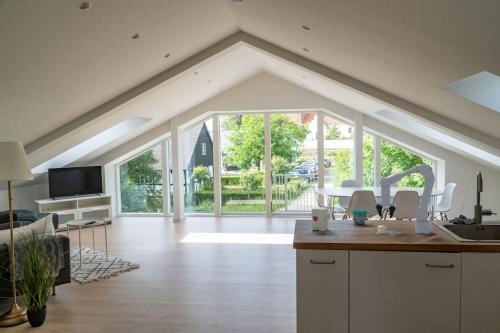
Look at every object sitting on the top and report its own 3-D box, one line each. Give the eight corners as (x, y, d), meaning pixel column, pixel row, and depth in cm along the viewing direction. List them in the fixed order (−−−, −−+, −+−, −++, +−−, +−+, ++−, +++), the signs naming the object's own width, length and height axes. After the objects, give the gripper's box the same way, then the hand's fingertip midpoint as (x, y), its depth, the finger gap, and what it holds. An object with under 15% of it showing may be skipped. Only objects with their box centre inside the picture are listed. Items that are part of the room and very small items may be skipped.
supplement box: (311, 230, 286) (311, 208, 285) (315, 228, 294) (315, 206, 293) (324, 231, 281) (324, 209, 281) (328, 229, 289) (328, 207, 289)
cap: (387, 232, 266) (387, 226, 266) (383, 234, 262) (383, 227, 262) (380, 231, 270) (380, 225, 269) (376, 233, 266) (376, 226, 266)
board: (403, 235, 265) (403, 228, 265) (393, 238, 257) (393, 231, 257) (384, 232, 275) (384, 225, 275) (374, 235, 266) (373, 228, 266)
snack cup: (372, 223, 309) (372, 209, 309) (368, 225, 300) (368, 211, 300) (351, 221, 317) (351, 208, 317) (346, 224, 308) (346, 210, 308)
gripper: (372, 196, 280) (372, 216, 280) (392, 197, 269) (392, 219, 269) (378, 195, 284) (378, 215, 285) (398, 196, 274) (398, 217, 274)
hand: (385, 217), depth 277 cm, fingers open, 7 cm apart
